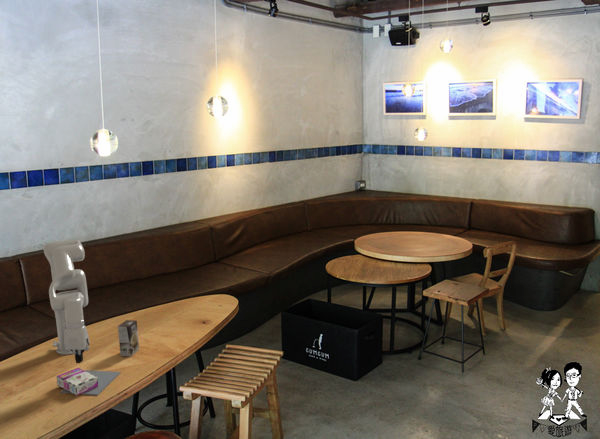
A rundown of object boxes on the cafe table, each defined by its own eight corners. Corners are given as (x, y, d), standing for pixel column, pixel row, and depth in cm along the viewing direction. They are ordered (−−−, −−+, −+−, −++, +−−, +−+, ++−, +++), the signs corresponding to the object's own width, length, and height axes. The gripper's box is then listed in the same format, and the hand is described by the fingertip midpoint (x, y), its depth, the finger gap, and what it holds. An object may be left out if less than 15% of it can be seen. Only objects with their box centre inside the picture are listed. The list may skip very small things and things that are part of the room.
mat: (60, 393, 264) (60, 392, 264) (85, 371, 285) (85, 370, 285) (97, 395, 261) (97, 394, 261) (120, 373, 282) (120, 371, 282)
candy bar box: (57, 386, 270) (76, 396, 259) (55, 375, 269) (74, 385, 258) (79, 377, 278) (98, 386, 268) (78, 367, 277) (97, 376, 267)
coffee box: (131, 356, 300) (128, 326, 297) (120, 356, 302) (117, 326, 298) (139, 349, 309) (137, 320, 306) (128, 348, 310) (125, 319, 307)
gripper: (55, 326, 266) (60, 364, 269) (86, 327, 263) (90, 366, 267) (64, 320, 273) (69, 357, 277) (94, 321, 271) (98, 359, 274)
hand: (79, 361), depth 272 cm, fingers closed
